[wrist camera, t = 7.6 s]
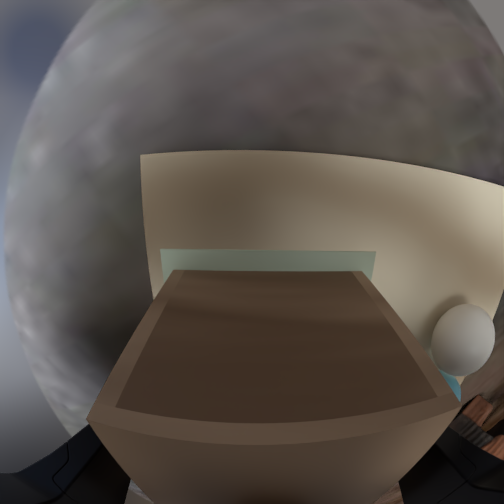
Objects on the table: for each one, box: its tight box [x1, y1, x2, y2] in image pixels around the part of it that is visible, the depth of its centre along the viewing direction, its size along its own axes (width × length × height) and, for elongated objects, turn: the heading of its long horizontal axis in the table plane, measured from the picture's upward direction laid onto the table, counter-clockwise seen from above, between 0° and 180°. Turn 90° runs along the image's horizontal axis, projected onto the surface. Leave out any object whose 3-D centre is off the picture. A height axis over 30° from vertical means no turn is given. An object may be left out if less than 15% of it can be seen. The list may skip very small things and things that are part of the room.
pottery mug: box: [448, 395, 504, 460], centre depth 13 cm, size 12×10×8 cm
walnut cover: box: [86, 270, 462, 504], centre depth 7 cm, size 9×6×7 cm
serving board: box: [140, 150, 504, 385], centre depth 11 cm, size 19×16×1 cm
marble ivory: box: [431, 304, 495, 376], centre depth 8 cm, size 3×3×3 cm
